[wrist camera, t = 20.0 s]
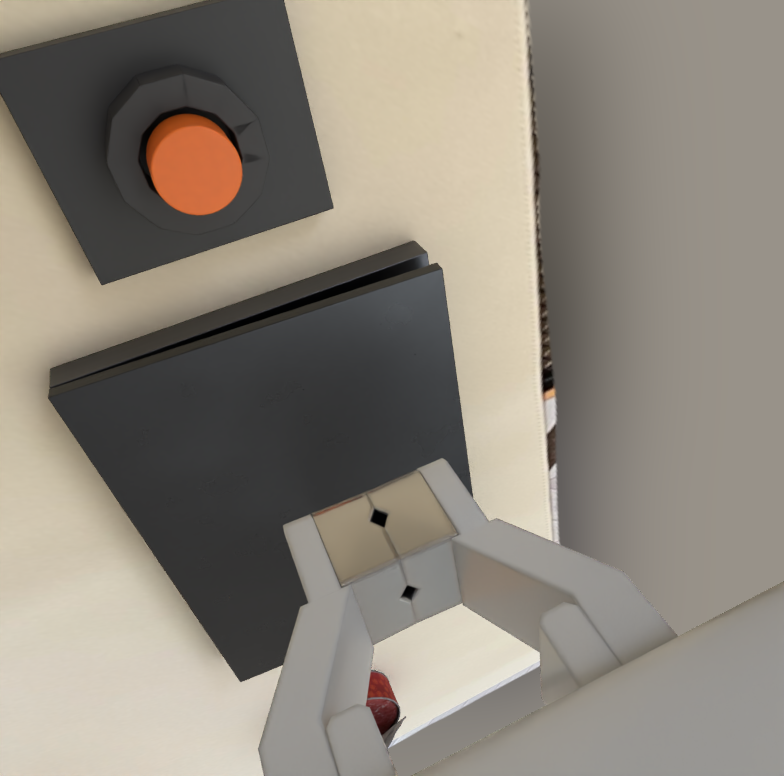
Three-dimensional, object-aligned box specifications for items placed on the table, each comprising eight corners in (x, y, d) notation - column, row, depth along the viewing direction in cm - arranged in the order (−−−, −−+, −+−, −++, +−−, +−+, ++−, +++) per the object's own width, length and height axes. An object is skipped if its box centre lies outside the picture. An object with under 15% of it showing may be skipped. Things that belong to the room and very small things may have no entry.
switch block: (100, 274, 32) (103, 306, 30) (-13, 56, 26) (-23, 72, 23) (326, 200, 34) (347, 223, 32) (273, -17, 28) (294, -10, 25)
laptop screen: (436, 261, 36) (442, 268, 35) (480, 574, 55) (484, 582, 54) (49, 387, 32) (47, 398, 32) (238, 672, 52) (240, 682, 51)
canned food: (357, 629, 66) (437, 688, 60) (351, 695, 70) (425, 755, 65) (272, 701, 58) (356, 776, 52) (272, 771, 62) (348, 846, 57)
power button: (165, 209, 29) (171, 227, 27) (131, 127, 26) (135, 141, 25) (243, 184, 29) (254, 200, 28) (216, 102, 27) (226, 114, 25)
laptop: (414, 240, 38) (428, 252, 36) (464, 547, 57) (474, 563, 55) (49, 368, 34) (48, 388, 32) (234, 652, 53) (239, 673, 51)
